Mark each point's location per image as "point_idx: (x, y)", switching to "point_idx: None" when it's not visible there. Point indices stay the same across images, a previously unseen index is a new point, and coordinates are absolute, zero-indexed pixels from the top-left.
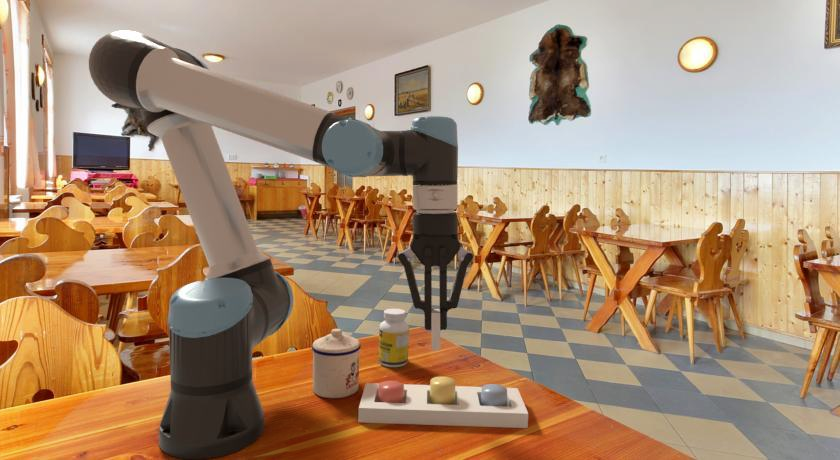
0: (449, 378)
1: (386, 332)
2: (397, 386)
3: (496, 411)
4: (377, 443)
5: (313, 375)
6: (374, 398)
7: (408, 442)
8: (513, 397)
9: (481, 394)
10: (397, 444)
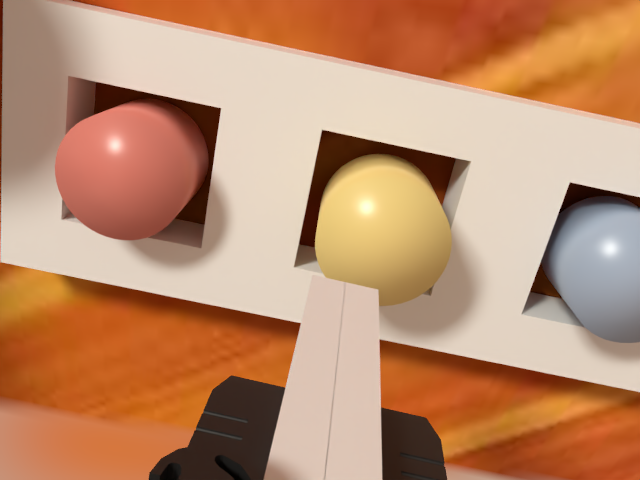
0: (430, 210)
1: None
2: (151, 193)
3: (566, 368)
4: (108, 377)
5: None
6: None
7: (209, 386)
8: None
9: (565, 257)
10: (172, 391)
